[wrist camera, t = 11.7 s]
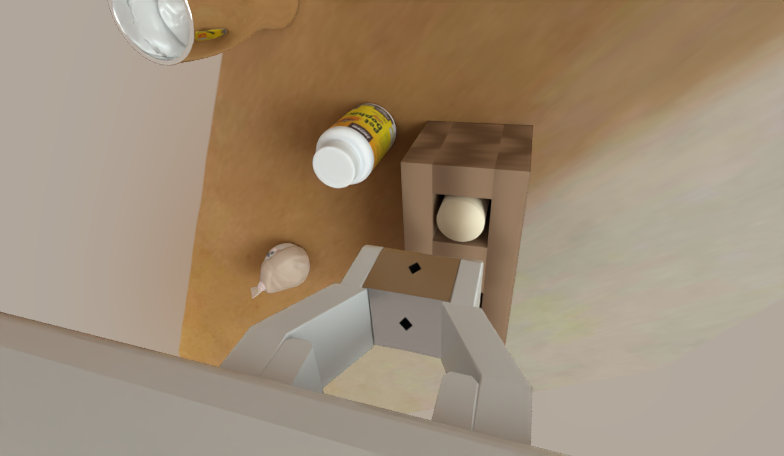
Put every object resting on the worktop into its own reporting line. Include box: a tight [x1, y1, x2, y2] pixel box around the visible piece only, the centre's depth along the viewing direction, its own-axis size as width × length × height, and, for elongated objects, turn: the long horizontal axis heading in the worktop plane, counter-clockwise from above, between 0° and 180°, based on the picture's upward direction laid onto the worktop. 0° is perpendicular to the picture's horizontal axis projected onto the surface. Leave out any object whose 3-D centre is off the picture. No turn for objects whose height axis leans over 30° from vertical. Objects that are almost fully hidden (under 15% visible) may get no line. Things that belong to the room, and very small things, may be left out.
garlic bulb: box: [251, 243, 310, 299], centre depth 54 cm, size 7×6×8 cm
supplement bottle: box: [313, 103, 396, 188], centre depth 39 cm, size 6×6×10 cm
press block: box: [401, 121, 533, 345], centre depth 41 cm, size 10×20×10 cm, turn 3°
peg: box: [437, 195, 490, 242], centre depth 37 cm, size 4×4×9 cm
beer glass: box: [107, 0, 299, 65], centre depth 32 cm, size 7×7×15 cm
